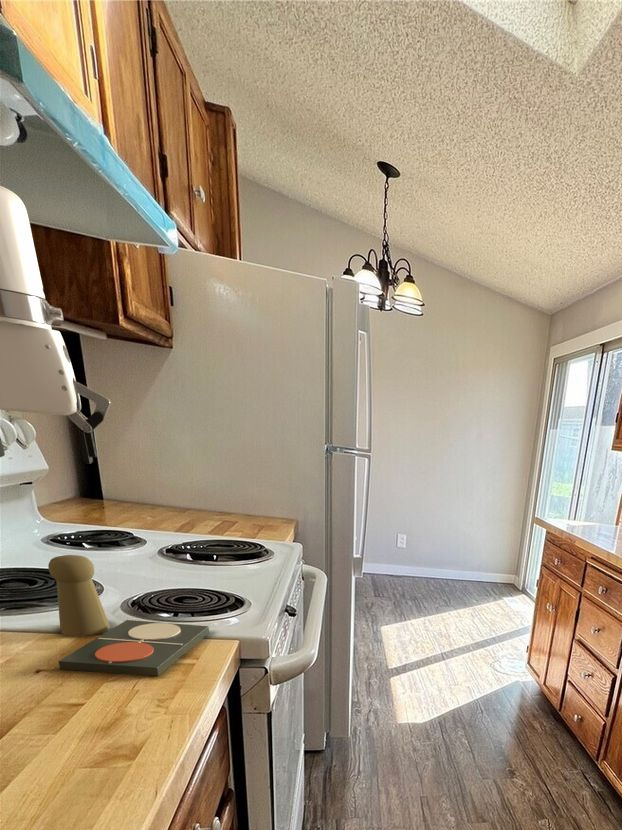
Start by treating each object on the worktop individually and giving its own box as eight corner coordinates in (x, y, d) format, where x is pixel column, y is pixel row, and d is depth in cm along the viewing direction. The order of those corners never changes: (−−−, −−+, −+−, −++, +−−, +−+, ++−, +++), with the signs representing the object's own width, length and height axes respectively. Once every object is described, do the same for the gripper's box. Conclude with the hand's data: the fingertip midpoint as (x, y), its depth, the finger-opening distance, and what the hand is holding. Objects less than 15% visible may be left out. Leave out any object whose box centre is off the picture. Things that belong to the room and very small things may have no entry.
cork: (49, 631, 81) (30, 557, 77) (87, 619, 87) (71, 549, 82) (83, 638, 80) (66, 564, 76) (119, 626, 86) (105, 555, 81)
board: (60, 669, 72) (57, 659, 71) (128, 627, 86) (126, 618, 85) (158, 676, 73) (156, 666, 72) (209, 633, 87) (208, 624, 87)
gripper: (100, 326, 75) (124, 461, 82) (-75, 300, 67) (-31, 452, 74) (92, 321, 69) (118, 467, 76) (-101, 292, 61) (-50, 458, 68)
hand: (44, 459), depth 75 cm, fingers open, 9 cm apart
